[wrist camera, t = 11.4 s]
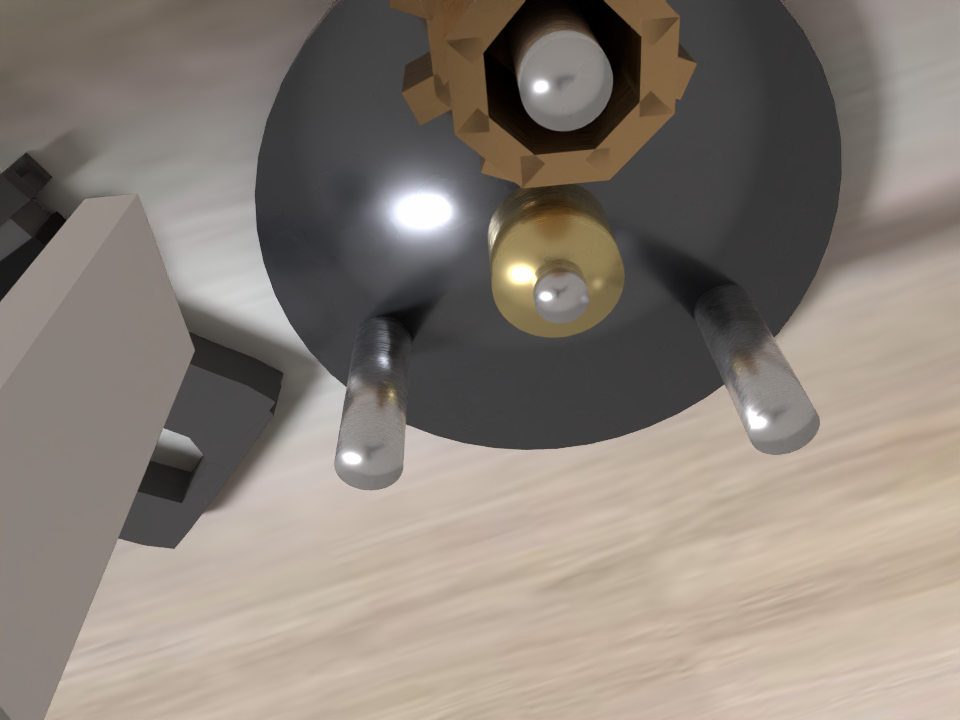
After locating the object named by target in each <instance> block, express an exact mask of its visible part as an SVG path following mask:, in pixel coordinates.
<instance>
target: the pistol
mask: <svg viewBox="0 0 960 720" xmlns="http://www.w3.org/2000/svg"><path fill="white" fill-rule="evenodd" d="M51 178H52V176H51V175H50V174H49V173H47V172H46V171H45V170H44V169H43V168H42V167H41V166H40V165H39V164H38V163H37V162H36V161H34V160H33V159H32V158H31V157H30V156H29V155H28V154H27V153H25V154H24V155H23V156H22V157H20V158H19V159H18V160H17V161H16V162H15V163H13V164H12V165H11V166H10V167H9V168H8V169H6V170H5V171H4V172H3V173H2V174H1V175H0V302H1V301H2V299H3V298H4V297H5V296H6V294H7V293H8V292H9V291H10V290H11V288H12V287H13V286H14V285H15V283H16V282H17V281H18V280H19V279H20V277H21V276H22V275H23V274H24V272H25V271H26V270H27V269H28V268H29V266H30V265H31V264H32V263H33V261H34V260H35V259H36V258H37V257H38V255H39V254H40V253H41V252H42V250H43V249H44V248H45V247H46V246H47V244H48V243H49V242H50V241H51V239H52V238H53V237H54V236H55V235H56V233H57V232H58V231H59V230H60V228H61V227H62V226H63V225H64V224H65V222H66V221H67V220H65V219H64V218H63V217H62V216H61V215H60V214H59V213H58V212H56V213H54V214H53V215H52V216H49V215H48V214H47V213H46V212H45V211H44V210H42V209H41V208H40V207H39V206H38V205H37V204H36V203H35V202H34V201H33V200H32V199H33V198H34V197H35V196H36V195H37V194H38V192H39V191H40V190H41V189H42V188H43V187H44V186H45V185H46V184H47V182H48V181H49V180H50V179H51ZM189 335H190V338H191V341H192V343H193V346H194V349H195V351H194V354H193V356H192V359H191V361H190V364H189V366H188V368H187V371H186V373H185V376H184V378H183V381H182V383H181V386H180V388H179V390H178V393H177V395H176V398H175V400H174V403H173V405H172V408H171V410H170V412H169V415H168V417H167V420H166V422H165V425H164V427H163V428H165V429H168V430H170V431H173V432H176V433H179V434H181V435H184V436H187V437H189V438H190V439H191V440H192V441H193V442H194V444H195V445H196V446H197V447H198V449H199V450H200V451H201V452H202V454H203V455H204V456H203V457H202V459H201V460H200V462H199V463H198V465H197V466H196V468H195V469H194V471H193V472H192V473H191V472H187V471H183V470H180V469H176V468H173V467H169V466H166V465H162V464H158V463H155V462H151V461H149V464H148V466H147V469H146V471H145V474H144V476H143V478H142V481H141V483H140V486H139V488H138V491H137V493H136V496H135V498H134V500H133V503H132V505H131V508H130V510H129V513H128V515H127V518H126V520H125V522H124V525H123V527H122V530H121V532H120V535H119V537H118V538H119V539H123V540H127V541H130V542H134V543H138V544H142V545H147V546H156V547H164V548H172V549H175V547H176V546H177V545H178V544H179V543H180V541H181V540H182V539H183V538H184V537H185V535H186V534H187V533H188V532H189V530H190V529H191V528H192V527H193V525H194V524H195V523H196V521H197V520H198V519H199V517H200V516H201V515H202V513H203V512H204V511H205V509H206V508H207V507H208V505H209V504H210V503H211V501H212V500H213V499H214V497H215V496H216V495H217V493H218V492H219V490H220V489H221V488H222V486H223V485H224V484H225V482H226V481H227V480H228V478H229V477H230V476H231V474H232V473H233V472H234V470H235V469H236V467H237V466H238V464H239V463H240V461H241V460H242V459H243V457H244V456H245V454H246V453H247V452H248V450H249V449H250V447H251V446H252V444H253V443H254V442H255V440H256V439H257V437H258V436H259V435H260V433H261V432H262V430H263V429H264V428H265V426H266V425H267V423H268V422H269V420H270V419H271V418H272V416H273V415H274V411H275V407H276V403H277V399H278V396H279V392H280V388H281V385H280V384H281V380H282V376H283V373H282V372H280V371H278V370H276V369H274V368H272V367H270V366H268V365H267V364H265V363H263V362H261V361H259V360H257V359H255V358H252V357H250V356H247V355H245V354H242V353H239V352H237V351H234V350H232V349H229V348H227V347H224V346H222V345H219V344H216V343H214V342H212V341H209V340H207V339H204V338H202V337H199V336H197V335H195V334H192V333H190V332H189Z"/></svg>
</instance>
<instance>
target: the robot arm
mask: <svg viewBox="0 0 960 720" xmlns="http://www.w3.org/2000/svg"><path fill="white" fill-rule="evenodd" d="M194 351H195V349H194V346H193V343H192V341H191V338H190V335H189V332H188V330H187V327H186V324H185V321H184V319H183V316H182V313H181V310H180V308H179V305H178V302H177V299H176V297H175V294H174V291H173V288H172V286H171V283H170V280H169V277H168V275H167V272H166V269H165V267H164V264H163V261H162V258H161V256H160V253H159V250H158V247H157V245H156V242H155V239H154V236H153V234H152V231H151V228H150V225H149V223H148V220H147V217H146V214H145V212H144V209H143V206H142V203H141V201H140V198H139V195H138V193H136V194H126V195H117V196H107V197H98V198H88V199H84V200H83V202H82V203H81V204H80V205H79V207H78V208H77V209H76V210H75V211H74V213H73V214H72V215H71V216H70V218H69V219H68V220H67V221H66V222H65V224H64V225H63V226H62V227H61V228H60V230H59V231H58V232H57V233H56V235H55V236H54V237H53V238H52V239H51V241H50V242H49V243H48V244H47V246H46V247H45V248H44V249H43V250H42V252H41V253H40V254H39V255H38V257H37V258H36V259H35V260H34V261H33V263H32V264H31V265H30V266H29V268H28V269H27V270H26V271H25V272H24V274H23V275H22V276H21V277H20V279H19V280H18V281H17V282H16V283H15V285H14V286H13V287H12V288H11V290H10V291H9V292H8V293H7V294H6V296H5V297H4V298H3V299H2V301H1V302H0V720H44V718H45V715H46V713H47V711H48V708H49V706H50V703H51V701H52V698H53V696H54V693H55V691H56V689H57V686H58V684H59V681H60V679H61V676H62V674H63V671H64V669H65V667H66V664H67V662H68V659H69V657H70V654H71V652H72V649H73V647H74V645H75V642H76V640H77V637H78V635H79V632H80V630H81V627H82V625H83V623H84V620H85V618H86V615H87V613H88V610H89V608H90V605H91V603H92V601H93V598H94V596H95V593H96V591H97V588H98V586H99V583H100V581H101V579H102V576H103V574H104V571H105V569H106V566H107V564H108V561H109V559H110V557H111V554H112V552H113V549H114V547H115V544H116V542H117V540H118V537H119V535H120V532H121V530H122V527H123V525H124V522H125V520H126V518H127V515H128V513H129V510H130V508H131V505H132V503H133V500H134V498H135V496H136V493H137V491H138V488H139V486H140V483H141V481H142V478H143V476H144V474H145V471H146V469H147V466H148V464H149V461H150V459H151V456H152V454H153V452H154V449H155V447H156V444H157V442H158V439H159V437H160V434H161V432H162V430H163V427H164V425H165V422H166V420H167V417H168V415H169V412H170V410H171V408H172V405H173V403H174V400H175V398H176V395H177V393H178V390H179V388H180V386H181V383H182V381H183V378H184V376H185V373H186V371H187V368H188V366H189V364H190V361H191V359H192V356H193V354H194Z"/></svg>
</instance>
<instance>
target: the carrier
mask: <svg viewBox="0 0 960 720" xmlns="http://www.w3.org/2000/svg"><path fill="white" fill-rule="evenodd" d="M666 2H667V3H668V4H669V6H670V7H671V8H672V9H673V10H674V11H675V12H676V13H677V14H678V15H679V16H680V26H679V43H680V44H681V45H682V46H683V48H684V49H685V50H686V51H687V52H688V53H689V54H690V56H691V57H692V58H693V59H694V60H695V61H696V63H697V65H696V67H695V69H694V72H693V74H692V76H691V78H690V80H689V83H688V85H687V87H686V89H685V91H684V93H683V96H682V98H681V100H679V99H675V114H674V115H673V116H672V117H671V118H670V119H669V120H668V121H667V122H666V123H665V124H664V125H663V126H662V127H661V128H660V129H659V130H658V131H657V132H656V133H655V134H654V135H653V136H652V137H651V138H650V139H649V140H648V141H647V142H646V143H645V144H644V145H643V146H642V147H641V148H640V149H639V150H638V151H637V152H636V153H635V155H634V156H633V157H632V158H631V159H630V160H629V161H628V162H627V163H626V164H625V165H624V166H623V167H622V168H621V169H620V170H619V171H618V172H617V173H616V174H615V175H614V176H613V177H612V178H611V179H610V180H605V181H595V182H584V183H574V184H563V185H553V186H543V187H532V188H521V187H520V186H519V185H518V184H516V183H515V182H511V181H508V180H504V179H501V178H497V177H494V176H490V175H487V174H483V173H481V166H480V154H478V153H477V152H476V151H475V150H473V149H472V148H471V147H469V146H468V145H467V144H466V143H464V142H463V141H462V140H461V139H459V138H458V137H457V136H456V135H455V132H454V123H453V114H452V109H451V110H449V111H447V112H445V113H443V114H442V115H440V116H438V117H436V118H434V119H432V120H430V121H428V122H427V123H425V124H423V125H421V126H420V124H419V122H418V121H417V119H416V117H415V115H414V114H413V112H412V110H411V109H410V107H409V105H408V103H407V102H406V100H405V98H404V96H403V95H402V86H403V79H404V71H405V65H407V64H408V63H410V62H412V61H414V60H415V59H417V58H419V57H421V56H423V55H424V54H426V53H428V52H430V45H429V37H428V28H427V20H426V19H425V18H422V17H419V16H416V15H413V14H410V13H406V12H403V11H400V10H397V9H394V8H391V7H389V4H390V0H336V1H335V2H334V4H333V5H332V6H331V7H330V9H329V10H328V11H327V13H326V14H325V15H324V16H323V18H322V19H321V20H320V21H319V23H318V24H317V25H316V26H315V28H314V29H313V30H312V31H311V33H310V34H309V36H308V38H307V39H306V41H305V43H304V45H303V46H302V48H301V50H300V51H299V53H298V55H297V57H296V58H295V60H294V62H293V63H292V65H291V67H290V69H289V71H288V72H287V74H286V76H285V78H284V80H283V82H282V84H281V87H280V89H279V92H278V94H277V97H276V99H275V102H274V104H273V107H272V109H271V112H270V114H269V117H268V119H267V122H266V127H265V131H264V135H263V139H262V143H261V148H260V152H259V156H258V165H257V176H256V188H255V204H256V221H257V232H258V237H259V242H260V247H261V251H262V256H263V261H264V265H265V268H266V270H267V273H268V276H269V279H270V282H271V284H272V287H273V290H274V293H275V295H276V297H277V299H278V301H279V303H280V305H281V307H282V309H283V311H284V313H285V314H286V316H287V318H288V320H289V322H290V324H291V325H292V327H293V328H294V330H295V331H296V332H297V334H298V335H299V337H300V338H301V340H302V341H303V342H304V344H305V345H306V347H307V348H308V350H309V351H310V352H311V353H312V354H313V355H314V356H315V357H316V358H317V359H318V360H319V362H320V363H321V364H322V365H323V366H324V367H325V368H326V369H327V370H328V371H329V372H330V373H331V374H332V375H333V376H334V377H335V378H336V379H338V380H339V381H340V382H341V383H342V384H343V385H345V386H346V387H347V388H346V394H345V401H344V407H343V413H342V419H341V425H340V431H339V438H338V444H337V450H336V456H335V462H334V466H335V470H336V473H337V474H338V476H339V477H340V478H341V479H342V480H343V481H344V482H345V483H347V484H348V485H350V486H352V487H355V488H358V489H362V490H378V489H383V488H386V487H388V486H390V485H392V484H393V483H395V482H396V481H397V480H398V479H399V477H400V476H401V474H402V471H403V460H404V444H405V428H406V424H407V425H410V426H412V427H415V428H418V429H420V430H423V431H425V432H428V433H431V434H433V435H436V436H440V437H444V438H447V439H451V440H455V441H459V442H462V443H467V444H473V445H480V446H486V447H492V448H504V449H521V450H533V449H558V448H565V447H572V446H579V445H587V444H592V443H596V442H600V441H604V440H608V439H613V438H617V437H620V436H623V435H626V434H629V433H632V432H635V431H638V430H641V429H644V428H647V427H650V426H652V425H654V424H656V423H658V422H661V421H663V420H665V419H667V418H669V417H672V416H674V415H676V414H678V413H680V412H682V411H683V410H685V409H687V408H689V407H690V406H692V405H694V404H695V403H697V402H699V401H701V400H702V399H704V398H706V397H707V396H709V395H710V394H711V393H713V392H714V391H716V390H717V389H718V388H720V387H721V386H723V385H724V384H725V386H726V388H727V390H728V392H729V394H730V397H731V399H732V401H733V403H734V405H735V408H736V410H737V412H738V414H739V416H740V419H741V421H742V423H743V425H744V427H745V430H746V432H747V434H748V436H749V438H750V441H751V443H752V445H753V446H754V447H755V448H756V449H757V450H759V451H761V452H763V453H766V454H772V455H780V454H786V453H790V452H793V451H796V450H798V449H800V448H802V447H803V446H805V445H806V444H807V443H809V442H810V441H811V440H812V439H813V438H814V436H815V435H816V433H817V431H818V429H819V425H820V419H819V416H818V414H817V412H816V410H815V408H814V407H813V405H812V403H811V401H810V400H809V398H808V396H807V394H806V393H805V391H804V389H803V388H802V386H801V384H800V382H799V381H798V379H797V377H796V375H795V374H794V372H793V370H792V369H791V367H790V365H789V363H788V362H787V360H786V358H785V356H784V355H783V353H782V351H781V349H780V348H779V346H778V344H777V343H776V341H775V339H774V337H775V336H776V335H777V334H778V333H779V332H780V330H781V329H782V327H783V326H784V325H785V323H786V322H787V321H788V319H789V318H790V316H791V315H792V314H793V312H794V311H795V309H796V308H797V307H798V305H799V304H800V302H801V300H802V298H803V296H804V295H805V293H806V291H807V289H808V287H809V286H810V284H811V282H812V280H813V278H814V277H815V275H816V272H817V270H818V267H819V265H820V262H821V260H822V258H823V255H824V253H825V250H826V248H827V245H828V243H829V239H830V235H831V231H832V227H833V223H834V219H835V216H836V212H837V207H838V198H839V190H840V181H841V140H840V132H839V127H838V121H837V115H836V110H835V104H834V100H833V97H832V94H831V91H830V88H829V85H828V82H827V80H826V77H825V74H824V71H823V68H822V65H821V63H820V61H819V60H818V58H817V56H816V54H815V52H814V50H813V48H812V46H811V45H810V43H809V41H808V39H807V37H806V35H805V33H804V32H803V30H802V29H801V27H800V26H799V25H798V24H797V22H796V21H795V20H794V18H793V17H792V16H791V14H790V13H789V12H788V11H787V9H786V8H785V7H784V5H783V4H782V3H781V1H780V0H666ZM598 33H599V0H525V2H524V3H523V4H522V5H521V7H520V8H519V9H518V10H517V12H516V13H515V14H514V15H513V17H512V18H511V19H510V20H509V22H508V23H507V24H506V25H505V27H504V28H503V29H502V30H501V31H500V33H499V34H498V35H497V36H496V38H495V39H494V40H493V41H492V43H491V44H490V45H489V46H488V48H487V49H486V50H487V51H488V52H489V53H490V54H491V55H493V56H494V57H495V58H496V59H497V60H498V61H500V62H501V63H502V64H503V65H504V66H505V67H506V68H508V69H509V70H510V71H511V72H512V73H513V74H515V75H516V79H517V83H518V87H519V92H520V96H521V100H522V103H523V106H524V108H525V110H526V111H527V113H528V114H529V115H530V117H531V118H532V119H533V120H534V121H535V122H537V123H538V124H540V125H541V126H543V127H545V128H548V129H551V130H555V131H570V130H575V129H579V128H581V127H583V126H585V125H587V124H589V123H590V122H592V121H593V120H594V119H596V118H597V117H598V116H599V115H600V113H601V112H602V111H603V110H604V108H605V106H606V105H607V103H608V101H609V98H610V95H611V92H612V87H613V75H612V69H611V66H610V63H609V61H608V59H607V57H606V56H605V54H604V52H603V50H602V48H601V47H600V45H599V43H598V41H597V39H596V38H595V36H596V35H597V34H598Z"/></svg>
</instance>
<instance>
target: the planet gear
mask: <svg viewBox="0 0 960 720" xmlns="http://www.w3.org/2000/svg"><path fill="white" fill-rule="evenodd" d="M524 2H525V0H390V4H389V7H391V8H394V9H397V10H400V11H403V12H406V13H410V14H413V15H416V16H419V17H422V18H425V19H426V20H427V28H428V37H429V45H430V52H428V53H426V54H424V55H423V56H421V57H419V58H417V59H415V60H414V61H412V62H410V63H408V64H407V65H405V71H404V79H403V86H402V95H403V96H404V98H405V100H406V102H407V103H408V105H409V107H410V109H411V110H412V112H413V114H414V115H415V117H416V119H417V121H418V122H419V124H420V126H421V125H423V124H425V123H427V122H428V121H430V120H432V119H434V118H436V117H438V116H440V115H442V114H443V113H445V112H447V111H449V110H451V109H452V114H453V123H454V132H455V135H456V136H457V137H458V138H459V139H461V140H462V141H463V142H464V143H466V144H467V145H468V146H469V147H471V148H472V149H473V150H475V151H476V152H477V153H478V154H480V166H481V173H483V174H487V175H490V176H494V177H497V178H501V179H504V180H508V181H511V182H515V183H516V184H518V185H519V186H520V187H521V188H532V187H543V186H553V185H563V184H574V183H584V182H595V181H605V180H610V179H611V178H612V177H613V176H614V175H615V174H616V173H617V172H618V171H619V170H620V169H621V168H622V167H623V166H624V165H625V164H626V163H627V162H628V161H629V160H630V159H631V158H632V157H633V156H634V155H635V153H636V152H637V151H638V150H639V149H640V148H641V147H642V146H643V145H644V144H645V143H646V142H647V141H648V140H649V139H650V138H651V137H652V136H653V135H654V134H655V133H656V132H657V131H658V130H659V129H660V128H661V127H662V126H663V125H664V124H665V123H666V122H667V121H668V120H669V119H670V118H671V117H672V116H673V115H674V114H675V99H679V100H681V98H682V96H683V93H684V91H685V89H686V87H687V85H688V83H689V80H690V78H691V76H692V74H693V72H694V69H695V67H696V65H697V63H696V61H695V60H694V59H693V58H692V57H691V56H690V54H689V53H688V52H687V51H686V50H685V49H684V48H683V46H682V45H681V44H680V43H679V26H680V16H679V15H678V14H677V13H676V12H675V11H674V10H673V9H672V8H671V7H670V6H669V4H668V3H667V2H666V0H599V33H598V34H597V35H596V36H595V38H596V39H597V41H598V43H599V45H600V47H601V48H602V50H603V52H604V54H605V56H606V57H607V59H608V61H609V63H610V66H611V69H612V75H613V87H612V92H611V95H610V98H609V101H608V103H607V105H606V106H605V108H604V110H603V111H602V112H601V113H600V115H599V116H598V117H597V118H596V119H594V120H593V121H592V122H590V123H589V124H587V125H585V126H583V127H581V128H579V129H575V130H570V131H555V130H551V129H548V128H545V127H543V126H541V125H540V124H538V123H537V122H535V121H534V120H533V119H532V118H531V117H530V115H529V114H528V113H527V111H526V110H525V108H524V106H523V103H522V100H521V96H520V92H519V87H518V83H517V79H516V75H515V74H513V73H512V72H511V71H510V70H509V69H508V68H506V67H505V66H504V65H503V64H502V63H501V62H500V61H498V60H497V59H496V58H495V57H494V56H493V55H491V54H490V53H489V52H488V51H487V50H486V49H487V48H488V46H489V45H490V44H491V43H492V41H493V40H494V39H495V38H496V36H497V35H498V34H499V33H500V31H501V30H502V29H503V28H504V27H505V25H506V24H507V23H508V22H509V20H510V19H511V18H512V17H513V15H514V14H515V13H516V12H517V10H518V9H519V8H520V7H521V5H522V4H523V3H524Z"/></svg>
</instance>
